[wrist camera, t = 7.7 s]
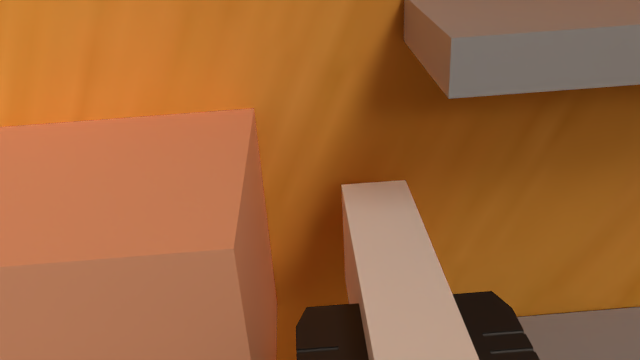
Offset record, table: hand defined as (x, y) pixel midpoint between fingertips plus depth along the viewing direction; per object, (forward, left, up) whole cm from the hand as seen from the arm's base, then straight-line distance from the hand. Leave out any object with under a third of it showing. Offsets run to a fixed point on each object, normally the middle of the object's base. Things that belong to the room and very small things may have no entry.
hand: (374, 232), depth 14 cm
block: (0, -6, -2) cm, 6 cm away
